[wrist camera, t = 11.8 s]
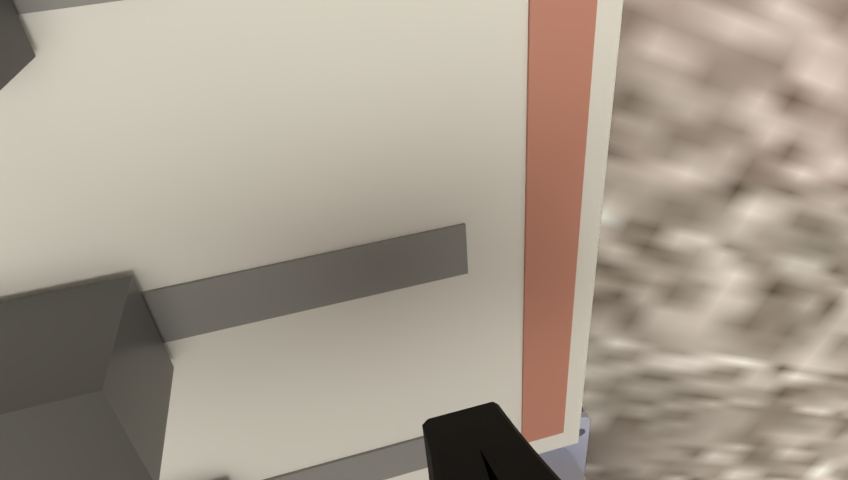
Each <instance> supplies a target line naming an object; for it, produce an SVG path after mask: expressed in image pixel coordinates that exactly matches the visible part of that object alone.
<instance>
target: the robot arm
mask: <svg viewBox="0 0 848 480" xmlns="http://www.w3.org/2000/svg"><path fill="white" fill-rule="evenodd" d="M422 427H423V435H424V443H425V450H426V458H427V466H428V474H429V480H587V479H586V478H585V476H584V472H585V464H586V455H587V447H588V438H589V429H590V418H589V417H588V415H587V414H586V413H585V412H582V411H581V420H580V430H579V440H578V443H575V444H572V445H568V446H565V447H561V448H558V449H554V450H551V451H548V452H544V453H541V454H538V453H537V452H536V451H535V450H534V449H533V447H532V446H531V445H530V444H529V443H528V442H527V440H526V439H525V438H524V437H523V435H522V434H521V433H520V432H519V431H518V429H517V428H516V427H515V426H514V424H513V423H512V422H511V420H510V419H509V418H508V417H507V415H506V414H505V413H504V411H503V410H502V408H501V407H500V406H499V404H497V403H495V402H489V403H486V404H482V405H478V406H474V407H471V408H467V409H463V410H459V411H456V412H452V413H448V414H444V415H441V416H437V417H433V418H429V419H427V420H426V421H425V422H424V424H423V425H422Z"/></svg>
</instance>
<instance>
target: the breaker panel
mask: <svg viewBox="0 0 848 480" xmlns="http://www.w3.org/2000/svg"><path fill="white" fill-rule="evenodd" d="M622 8H623V0H0V303H1V302H6V301H11V300H15V299H20V298H25V297H30V296H35V295H39V294H44V293H49V292H54V291H59V290H63V289H68V288H73V287H78V286H83V285H87V284H92V283H97V282H102V281H107V280H111V279H116V278H121V277H126V276H131V275H132V276H133V278H134V280H135V283H136V285H137V287H138V289H139V291H140V294H141V296H142V298H143V300H144V302H145V305H146V307H147V309H148V311H149V313H150V316H151V318H152V320H153V322H154V325H155V327H156V329H157V331H158V333H159V336H160V338H161V340H162V342H163V344H164V347H165V349H166V351H167V353H168V355H169V358H170V360H171V362H172V364H173V366H174V371H173V379H172V387H171V394H170V402H169V409H168V417H167V424H166V432H165V440H164V447H163V455H162V462H161V470H160V478H159V480H429V474H428V466H427V458H426V450H425V443H424V435H423V427H422V425H423V424H424V422H425V421H426V420H427V419H429V418H433V417H437V416H441V415H444V414H448V413H452V412H456V411H459V410H463V409H467V408H471V407H474V406H478V405H482V404H486V403H489V402H495V403H497V404H499V406H500V407H501V408H502V410H503V411H504V413H505V414H506V415H507V417H508V418H509V419H510V420H511V422H512V423H513V424H514V426H515V427H516V428H517V429H518V431H519V432H520V433H521V434H522V435H523V437H524V438H525V439H526V440H527V442H528V443H529V444H530V445H531V446H532V447H533V449H534V450H535V451H536V452H537V453H538V454H541V453H544V452H548V451H551V450H554V449H558V448H561V447H565V446H568V445H572V444H575V443H578V440H579V430H580V420H581V410H582V400H583V391H584V381H585V371H586V361H587V351H588V342H589V332H590V322H591V312H592V302H593V293H594V283H595V273H596V263H597V253H598V244H599V234H600V224H601V214H602V204H603V194H604V185H605V175H606V165H607V155H608V145H609V136H610V126H611V116H612V106H613V96H614V87H615V77H616V67H617V57H618V47H619V38H620V28H621V18H622Z"/></svg>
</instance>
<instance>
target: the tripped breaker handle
mask: <svg viewBox="0 0 848 480" xmlns="http://www.w3.org/2000/svg"><path fill="white" fill-rule="evenodd" d="M173 371H174V366H173V364H172V362H171V360H170V358H169V355H168V353H167V351H166V349H165V347H164V344H163V342H162V340H161V338H160V336H159V333H158V331H157V329H156V327H155V325H154V322H153V320H152V318H151V316H150V313H149V311H148V309H147V307H146V305H145V302H144V300H143V298H142V296H141V294H140V291H139V289H138V287H137V285H136V283H135V280H134V278H133V276H132V275H131V276H126V277H121V278H116V279H111V280H107V281H102V282H97V283H92V284H87V285H83V286H78V287H73V288H68V289H63V290H59V291H54V292H49V293H44V294H39V295H35V296H30V297H25V298H20V299H15V300H11V301H6V302H1V303H0V480H159V478H160V470H161V462H162V455H163V447H164V440H165V432H166V424H167V417H168V409H169V402H170V394H171V387H172V379H173Z"/></svg>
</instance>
